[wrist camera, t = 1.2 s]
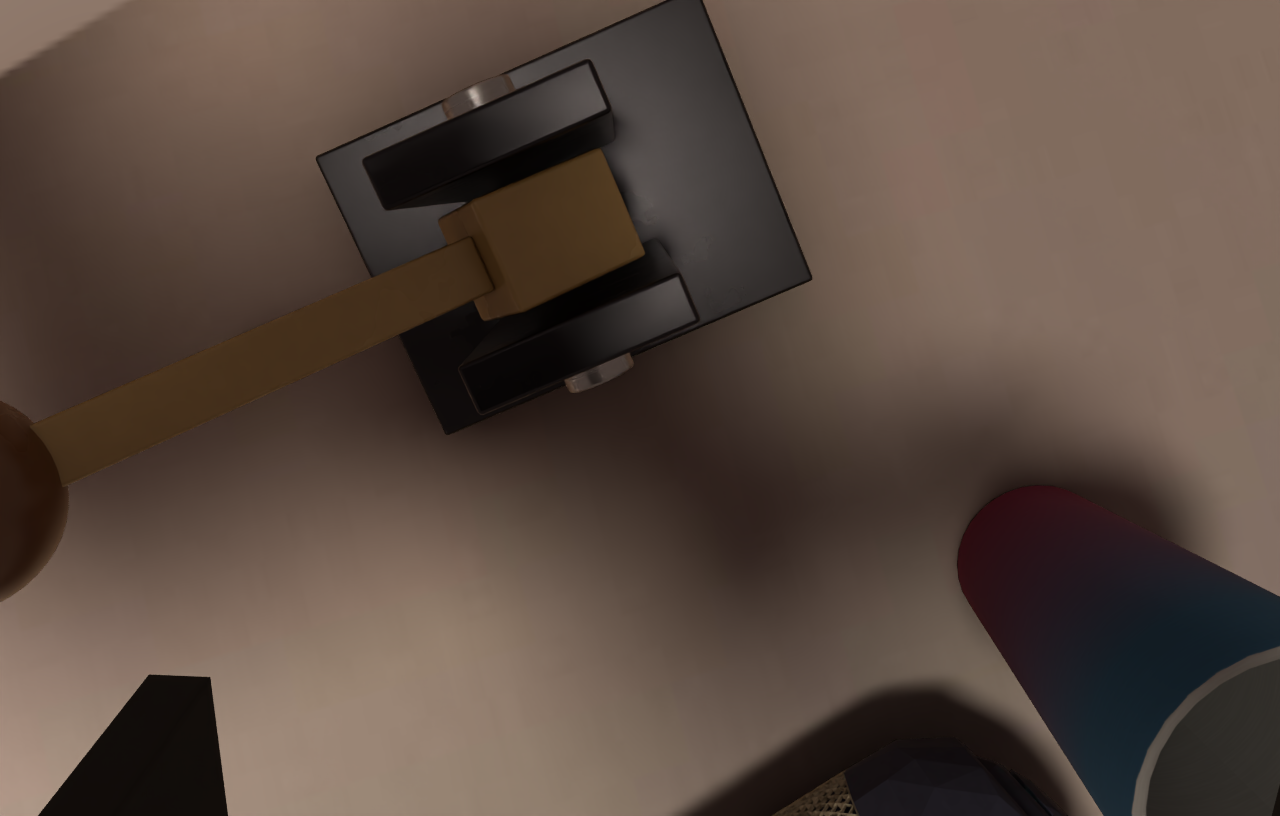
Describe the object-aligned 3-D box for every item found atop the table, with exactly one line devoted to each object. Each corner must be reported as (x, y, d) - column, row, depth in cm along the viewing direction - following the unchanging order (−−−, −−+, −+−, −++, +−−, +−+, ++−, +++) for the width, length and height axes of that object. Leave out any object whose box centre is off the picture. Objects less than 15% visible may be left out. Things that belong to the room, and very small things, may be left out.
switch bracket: (451, 428, 36) (338, 592, 22) (323, 157, 34) (109, 138, 20) (807, 276, 35) (938, 340, 21) (694, -8, 34) (751, -152, 19)
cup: (888, 538, 37) (1065, 772, 22) (1067, 415, 36) (1372, 571, 22) (1002, 698, 38) (1243, 1020, 23) (1178, 580, 38) (1539, 837, 23)
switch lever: (-105, 639, 19) (-147, 687, 16) (-218, 447, 19) (-287, 456, 15) (601, 301, 25) (676, 286, 21) (532, 143, 24) (599, 102, 21)
